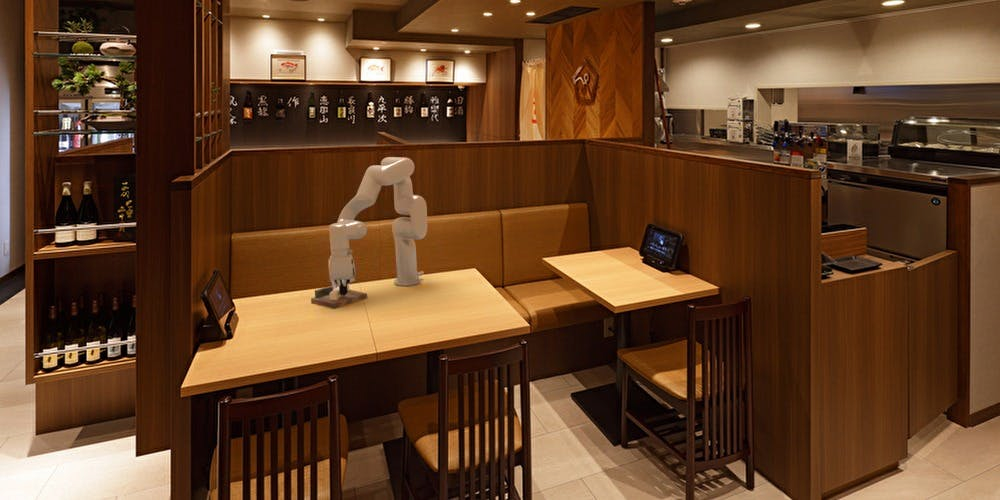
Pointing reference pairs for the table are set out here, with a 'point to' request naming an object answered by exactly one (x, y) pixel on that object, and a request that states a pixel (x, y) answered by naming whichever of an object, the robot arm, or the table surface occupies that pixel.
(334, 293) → the hinged leg
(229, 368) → the table surface
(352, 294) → the brown rectangular tray
